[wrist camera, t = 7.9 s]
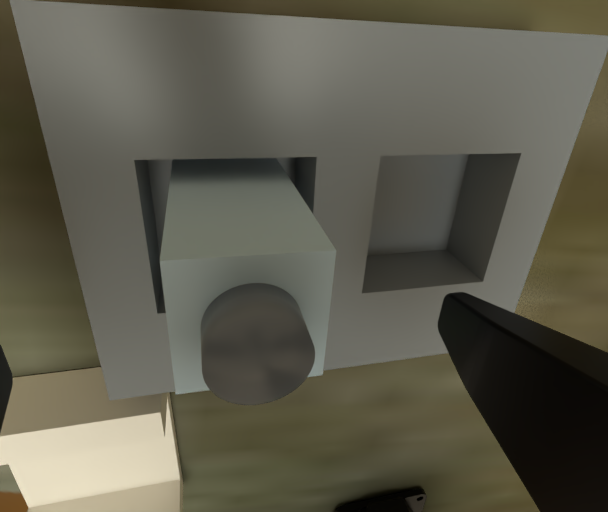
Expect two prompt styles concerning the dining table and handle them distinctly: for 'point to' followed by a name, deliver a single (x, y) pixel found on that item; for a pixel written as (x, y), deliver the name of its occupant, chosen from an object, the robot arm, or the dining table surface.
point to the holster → (90, 446)
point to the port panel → (306, 157)
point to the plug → (243, 280)
